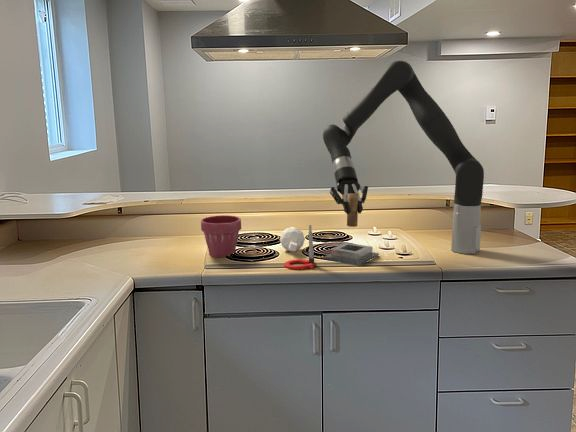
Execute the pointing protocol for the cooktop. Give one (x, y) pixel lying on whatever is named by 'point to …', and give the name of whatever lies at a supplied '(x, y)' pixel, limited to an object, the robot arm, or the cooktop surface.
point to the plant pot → (221, 234)
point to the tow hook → (308, 263)
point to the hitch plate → (328, 257)
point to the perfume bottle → (292, 239)
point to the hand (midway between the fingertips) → (354, 212)
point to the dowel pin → (352, 209)
